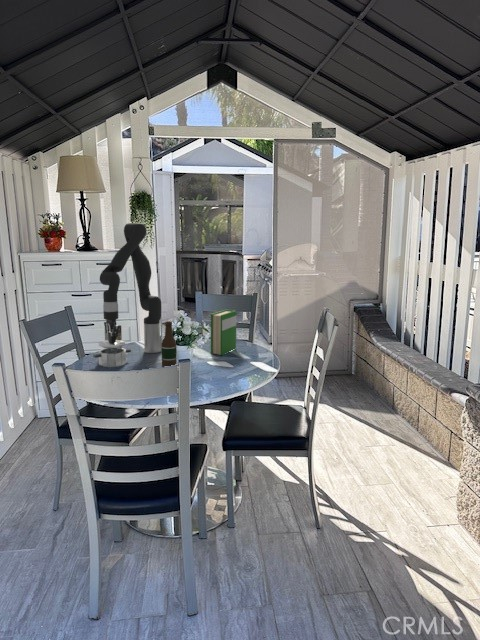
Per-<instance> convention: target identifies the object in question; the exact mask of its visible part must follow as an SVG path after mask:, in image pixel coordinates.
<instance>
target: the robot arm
mask: <svg viewBox="0 0 480 640" xmlns="http://www.w3.org/2000/svg"><path fill="white" fill-rule="evenodd" d="M123 234H124V235H123V236H124V238H125V242H126V243H125V244H124V245H123V246H122V247H121V248H120V249H119V250H117V252H116V253H115V254H114V256H113V258H111V259H112V260H111V261H110V263H109V264H108V265H107V266H106V267H105V268H104V269H103V270H102V271H101V273H100V275H99V282H100V284H101V285H104V286H108V289H105V290H104V291H103V294H102V295H103V296H102V298H103V307H102V309H103V320H105V321H103V325H104V331H105V330H106V333H107V334H108V341H109V334H110V333H111V343H115V342H116V337H115V336H116V335H118V330H119V325H120V324H119V325H117V320H119V303H118V302H119V301H118V293H119V288H120V284H121V277H120V275H119V274H118V273H120V272H122V271H123V270H124V268H125V266H126V264H127V263H128V260H129V259H130V258H131V261H132V267H133V271H134V275H135V279H136V285H137V288H138V296H139V297H138V298H139V303H140V306H141V308H142V310H143V311H146V312H148V316H146V317H144V318H143V336H144V337H143V340H144V341H143V344H144V345H143V346H144V348H143V350H144V353H145V354H146V353H147V354H157V353H160V352H162V348H161V346H162V341H163V339H162V337H163V336H162V335H161V319H162V300H161V298H160V297H159V296H156V295H152V294H151V291H150V281H151V278H152V269H151V268H152V267H151V263H150V260H149V259H148V257H147V256H146V254H145V253H144V252H143V250H142V249H141V246H140V245H141V243H142V241H144V239H145V238H146V235H147V227H146V226H145V224H143V223H141V222H130V223H129V222H128V223H126V224H125V225H124V227H123Z"/></svg>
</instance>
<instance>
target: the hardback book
mask: <svg viewBox="0 0 480 640" xmlns="http://www.w3.org/2000/svg"><path fill="white" fill-rule="evenodd" d="M235 348H236V349H237V310H232V309H222V310H220V311H216V312H213V313H210V355H211V354H213V355H219V356H221V355H224V354H225V353H227V352H229V351H231V350H233V349H235ZM224 356H225V355H224Z"/></svg>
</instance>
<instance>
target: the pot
mask: <svg viewBox="0 0 480 640" xmlns="http://www.w3.org/2000/svg"><path fill="white" fill-rule="evenodd" d="M131 352H132V350H131V349H130V348H124V347H122V348H102V349H98V353H96V354H95V353H94V354H93V356H92V357H93V358H94V359H97V358H98V366H100V367H102V366H103V368H118V367H122V366H124V365H127V353H131Z"/></svg>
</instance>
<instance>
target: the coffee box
mask: <svg viewBox="0 0 480 640" xmlns="http://www.w3.org/2000/svg"><path fill="white" fill-rule="evenodd" d="M122 336H123V335H122V325H120V324H119V330H118V335H116V336H115V337H116V340H122V341H123V339H122ZM105 340H108V334H107V333H106V330H105V329H104V341H105ZM118 348H123V346H121V347H118Z"/></svg>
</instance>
